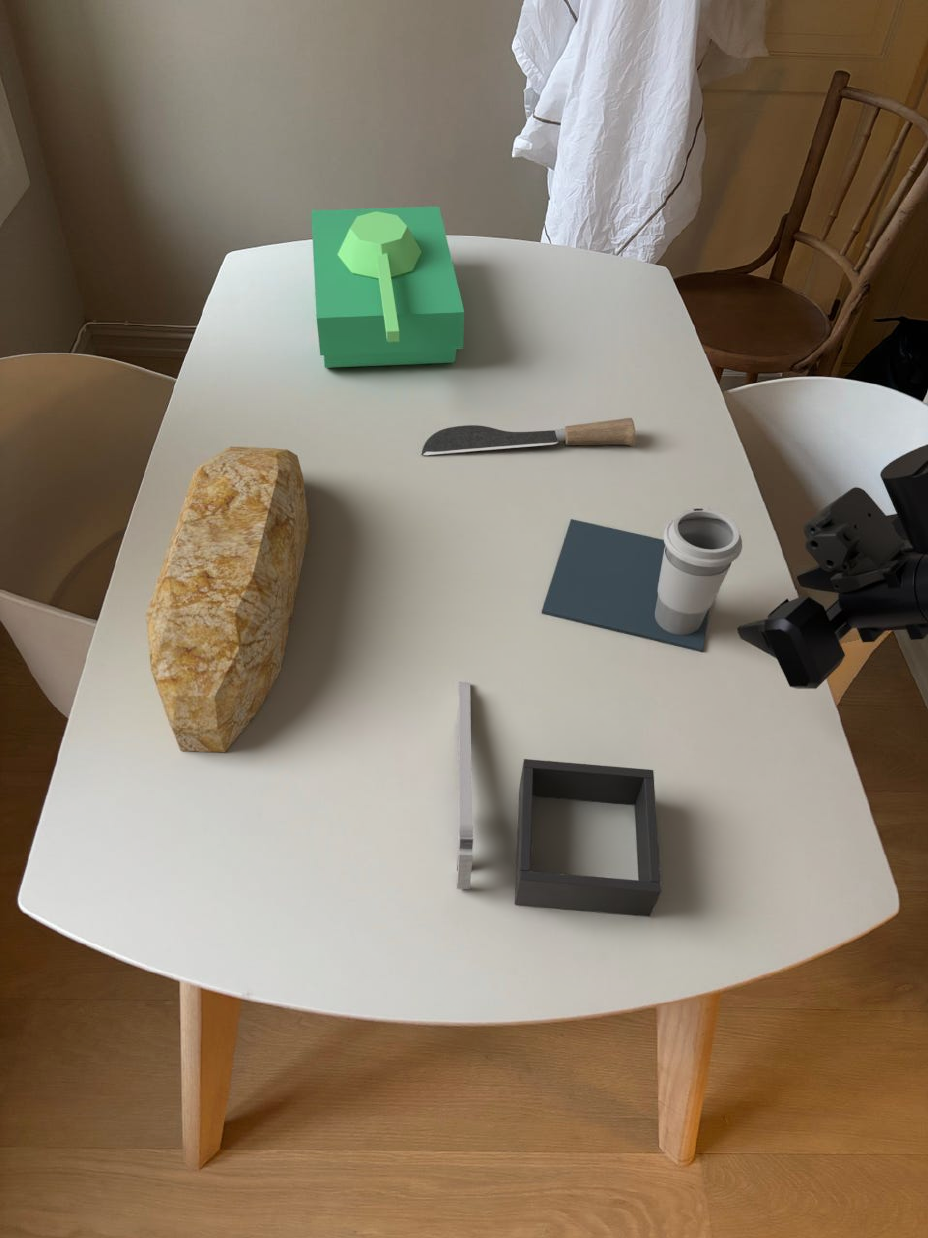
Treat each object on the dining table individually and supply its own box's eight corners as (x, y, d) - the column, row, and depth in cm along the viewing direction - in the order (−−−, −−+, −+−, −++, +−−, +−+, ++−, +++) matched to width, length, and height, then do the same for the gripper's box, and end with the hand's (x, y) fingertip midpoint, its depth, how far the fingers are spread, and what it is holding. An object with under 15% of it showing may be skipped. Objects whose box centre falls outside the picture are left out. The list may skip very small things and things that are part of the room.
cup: (703, 590, 96) (733, 502, 86) (722, 641, 91) (756, 554, 82) (635, 594, 95) (658, 506, 86) (650, 645, 90) (677, 558, 81)
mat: (717, 554, 100) (718, 551, 99) (702, 652, 91) (703, 649, 90) (570, 521, 102) (571, 518, 102) (541, 613, 93) (541, 610, 93)
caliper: (469, 893, 74) (474, 856, 69) (456, 892, 74) (459, 855, 69) (469, 685, 87) (473, 642, 82) (458, 684, 87) (461, 641, 82)
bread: (220, 476, 105) (205, 402, 97) (318, 481, 105) (311, 407, 97) (137, 748, 81) (109, 678, 74) (264, 754, 81) (248, 685, 74)
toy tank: (315, 326, 103) (308, 182, 126) (324, 417, 113) (316, 268, 135) (474, 319, 105) (439, 179, 128) (470, 409, 114) (438, 264, 137)
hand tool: (417, 419, 110) (626, 402, 112) (419, 440, 113) (624, 423, 114) (421, 447, 107) (637, 429, 108) (422, 468, 109) (634, 451, 110)
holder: (643, 797, 80) (653, 769, 76) (650, 917, 73) (661, 892, 70) (519, 787, 80) (523, 758, 77) (514, 905, 73) (519, 879, 70)
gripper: (958, 437, 72) (793, 478, 85) (827, 552, 63) (665, 577, 76) (1008, 564, 74) (839, 584, 87) (888, 692, 65) (721, 693, 79)
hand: (770, 605), depth 82 cm, fingers open, 9 cm apart
